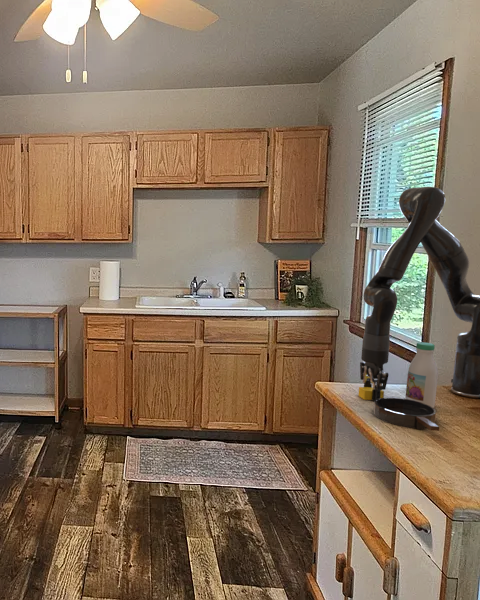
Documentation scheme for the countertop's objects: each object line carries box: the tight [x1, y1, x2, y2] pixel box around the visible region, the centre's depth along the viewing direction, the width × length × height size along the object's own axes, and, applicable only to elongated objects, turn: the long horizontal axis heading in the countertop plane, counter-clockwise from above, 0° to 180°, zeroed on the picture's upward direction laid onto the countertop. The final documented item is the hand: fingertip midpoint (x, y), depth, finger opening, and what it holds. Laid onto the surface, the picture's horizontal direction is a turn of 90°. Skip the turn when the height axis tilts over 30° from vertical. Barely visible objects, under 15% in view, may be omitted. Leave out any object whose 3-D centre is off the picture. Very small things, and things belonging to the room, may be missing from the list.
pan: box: [372, 396, 437, 429], centre depth 146 cm, size 15×15×4 cm
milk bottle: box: [404, 341, 439, 409], centre depth 154 cm, size 8×8×20 cm
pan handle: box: [414, 416, 440, 432], centre depth 135 cm, size 7×2×3 cm, turn 175°
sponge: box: [357, 386, 385, 401], centre depth 163 cm, size 6×4×3 cm, turn 85°
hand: (371, 397), depth 163 cm, fingers open, 5 cm apart
